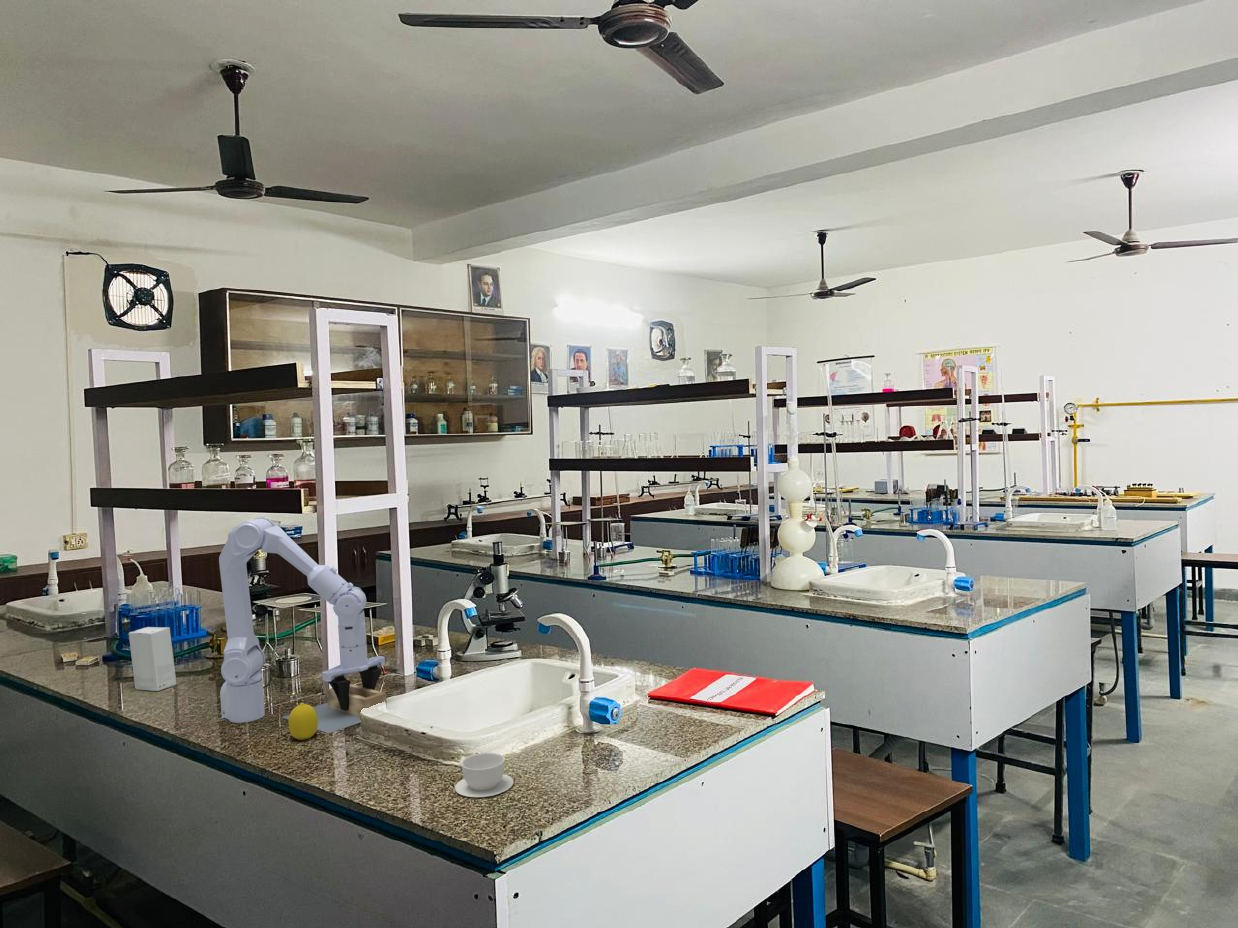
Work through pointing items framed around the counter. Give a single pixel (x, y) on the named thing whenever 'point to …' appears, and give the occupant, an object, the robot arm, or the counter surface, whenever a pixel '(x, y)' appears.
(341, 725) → the board
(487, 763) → the teacup
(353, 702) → the open wooden crate
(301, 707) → the lemon
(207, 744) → the counter surface
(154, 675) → the skincare box
